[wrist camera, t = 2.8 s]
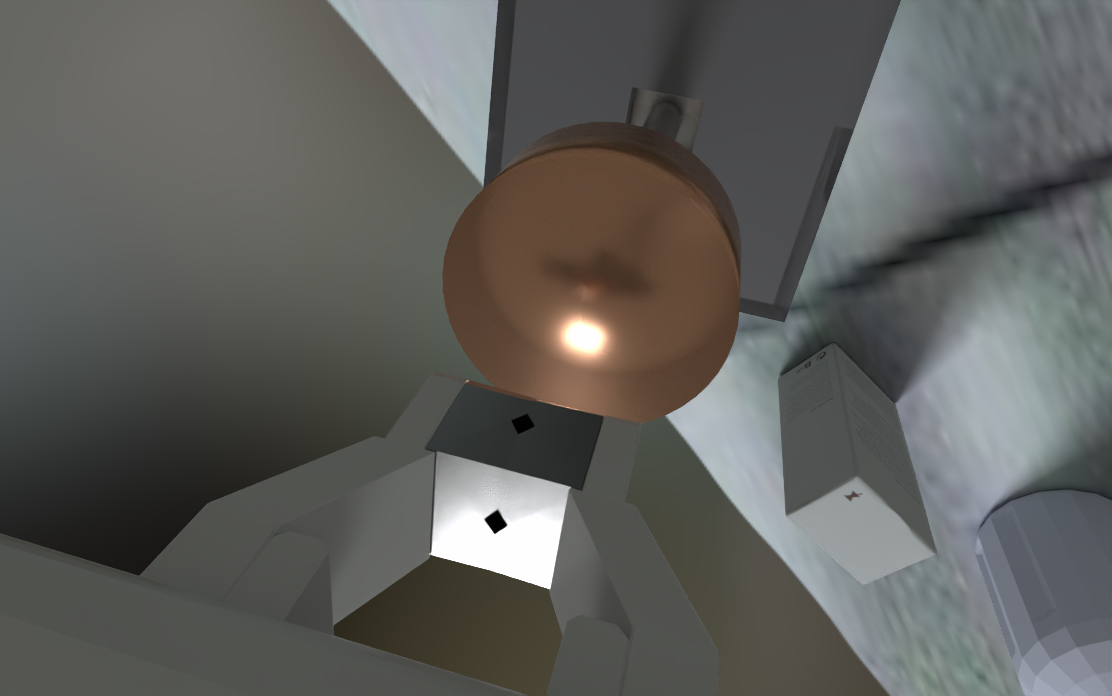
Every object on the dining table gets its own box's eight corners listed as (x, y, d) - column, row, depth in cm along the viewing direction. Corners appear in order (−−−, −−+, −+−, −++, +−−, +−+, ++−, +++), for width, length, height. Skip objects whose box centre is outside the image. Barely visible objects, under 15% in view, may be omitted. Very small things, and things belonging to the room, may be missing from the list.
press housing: (593, -100, 33) (506, -107, 21) (856, -58, 31) (915, -41, 20) (559, 152, 40) (478, 251, 28) (775, 197, 38) (784, 321, 26)
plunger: (556, -58, 24) (336, -25, 11) (848, -9, 23) (966, 90, 10) (525, 210, 29) (351, 437, 16) (760, 262, 28) (766, 549, 15)
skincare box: (774, 378, 44) (780, 514, 34) (833, 338, 41) (858, 473, 32) (838, 440, 45) (862, 589, 35) (899, 405, 43) (942, 555, 33)
